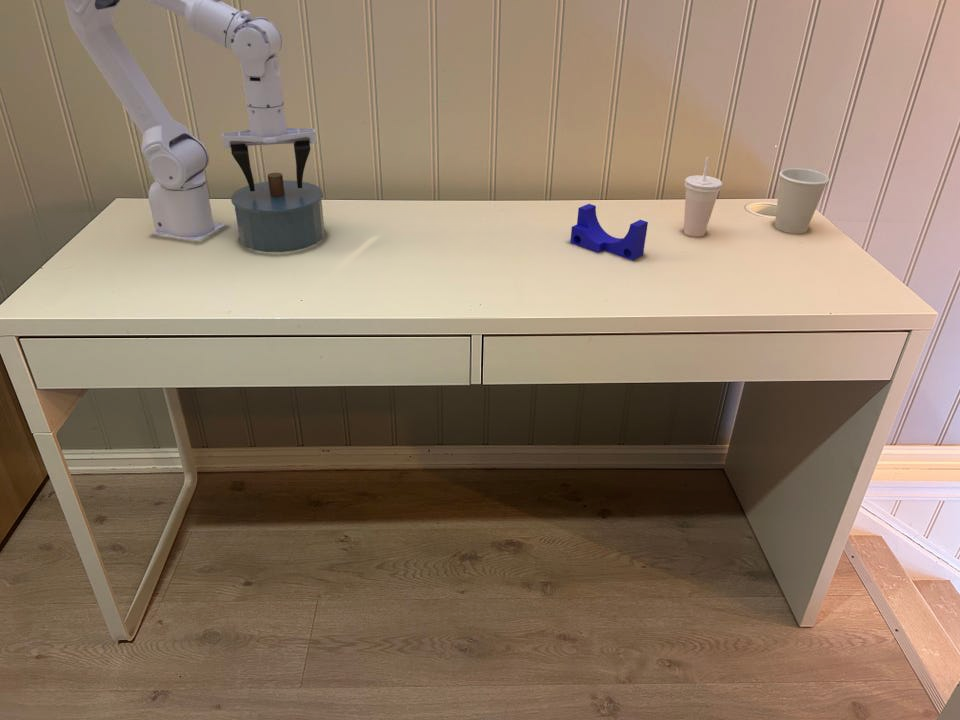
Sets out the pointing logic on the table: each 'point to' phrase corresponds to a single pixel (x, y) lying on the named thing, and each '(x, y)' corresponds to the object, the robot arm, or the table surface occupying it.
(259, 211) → the lid
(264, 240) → the tin
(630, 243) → the blue cradle bracket
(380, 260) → the table surface
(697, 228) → the smoothie
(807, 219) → the dixie cup
